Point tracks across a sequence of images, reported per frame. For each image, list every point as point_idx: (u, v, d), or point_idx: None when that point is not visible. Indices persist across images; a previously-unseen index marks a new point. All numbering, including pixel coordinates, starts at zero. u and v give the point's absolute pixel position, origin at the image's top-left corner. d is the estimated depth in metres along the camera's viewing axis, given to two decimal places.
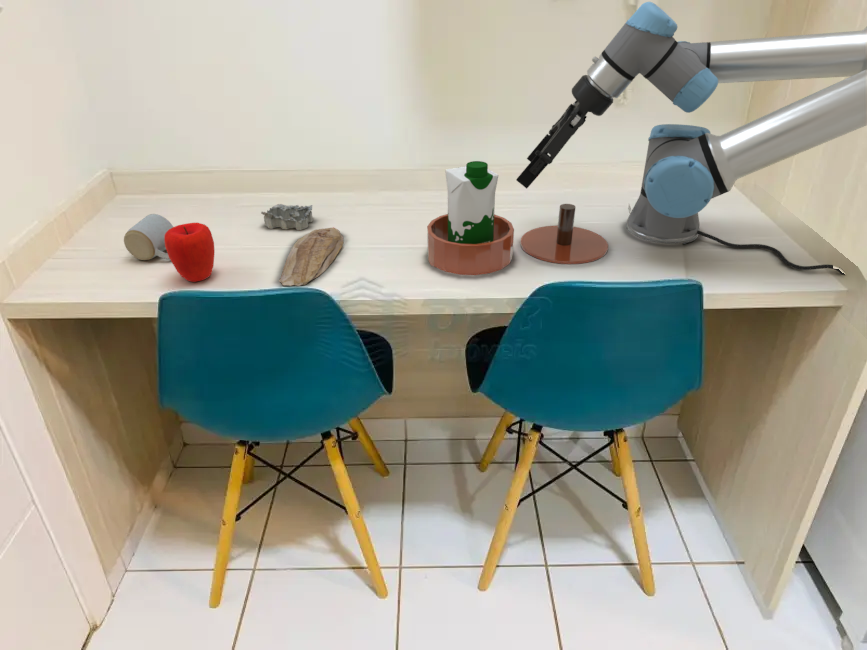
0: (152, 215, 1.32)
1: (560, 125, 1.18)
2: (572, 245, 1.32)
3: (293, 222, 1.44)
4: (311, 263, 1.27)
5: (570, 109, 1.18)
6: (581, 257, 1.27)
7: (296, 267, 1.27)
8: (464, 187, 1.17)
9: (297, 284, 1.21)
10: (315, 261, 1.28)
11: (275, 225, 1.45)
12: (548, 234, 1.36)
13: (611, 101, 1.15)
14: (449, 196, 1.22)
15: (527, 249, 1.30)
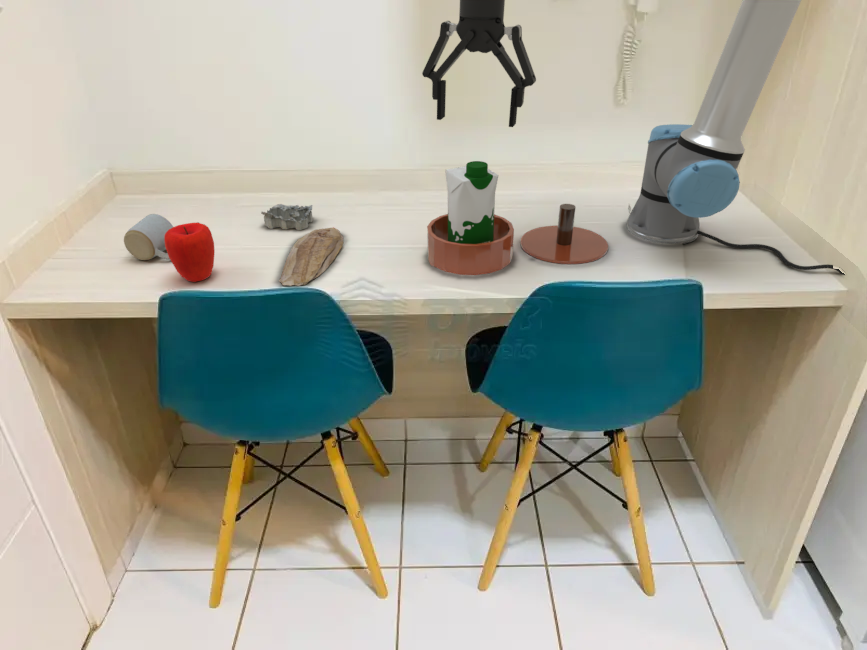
0: (152, 215, 1.32)
1: (500, 51, 1.07)
2: (572, 245, 1.32)
3: (293, 222, 1.44)
4: (311, 263, 1.27)
5: (488, 33, 1.06)
6: (581, 257, 1.27)
7: (296, 267, 1.27)
8: (464, 187, 1.17)
9: (297, 284, 1.21)
10: (315, 261, 1.28)
11: (275, 225, 1.45)
12: (548, 234, 1.36)
13: None
14: (449, 196, 1.22)
15: (527, 249, 1.30)
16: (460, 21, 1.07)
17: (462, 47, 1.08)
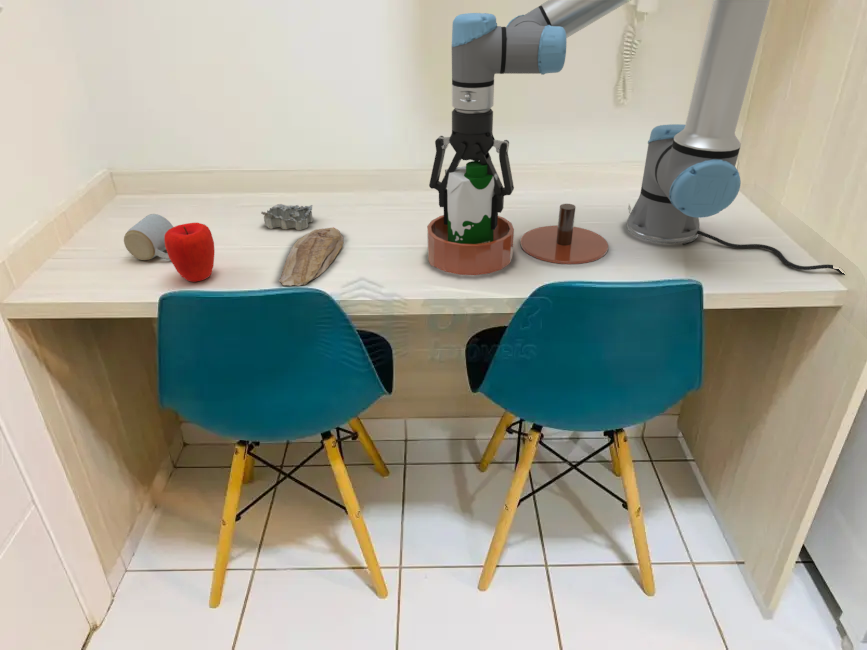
0: (152, 215, 1.32)
1: (487, 163, 1.17)
2: (572, 245, 1.32)
3: (293, 222, 1.44)
4: (311, 263, 1.27)
5: (479, 145, 1.16)
6: (581, 257, 1.27)
7: (296, 267, 1.27)
8: (464, 187, 1.17)
9: (297, 284, 1.21)
10: (315, 261, 1.28)
11: (275, 225, 1.45)
12: (548, 234, 1.36)
13: None
14: (448, 196, 1.22)
15: (527, 249, 1.30)
16: (453, 134, 1.16)
17: (458, 158, 1.18)
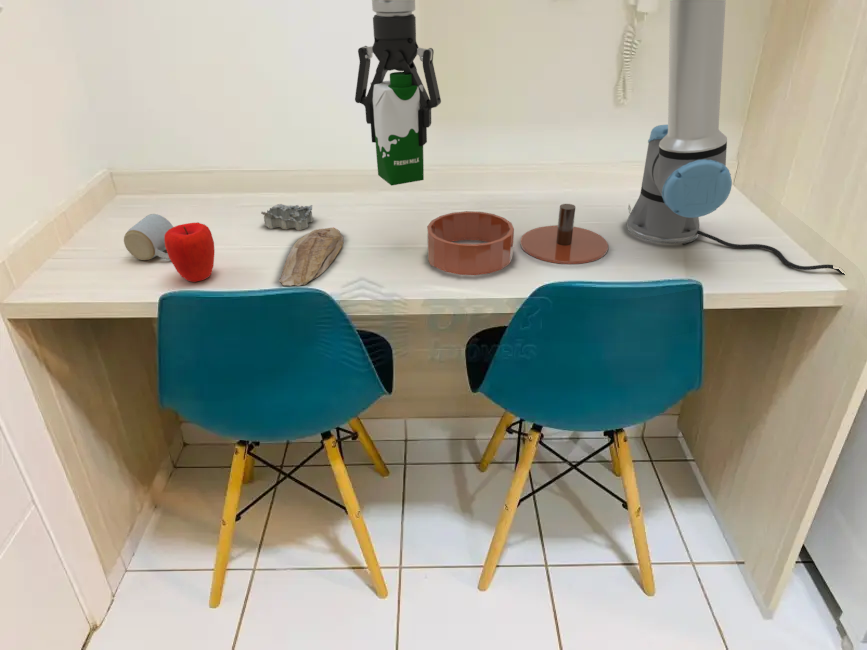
0: (152, 215, 1.32)
1: (411, 72, 1.13)
2: (572, 245, 1.32)
3: (293, 222, 1.44)
4: (311, 263, 1.27)
5: (402, 53, 1.12)
6: (581, 257, 1.27)
7: (296, 267, 1.27)
8: (387, 97, 1.13)
9: (297, 284, 1.21)
10: (315, 261, 1.28)
11: (275, 225, 1.45)
12: (548, 234, 1.36)
13: None
14: (374, 110, 1.18)
15: (527, 249, 1.30)
16: (375, 42, 1.13)
17: (382, 68, 1.14)
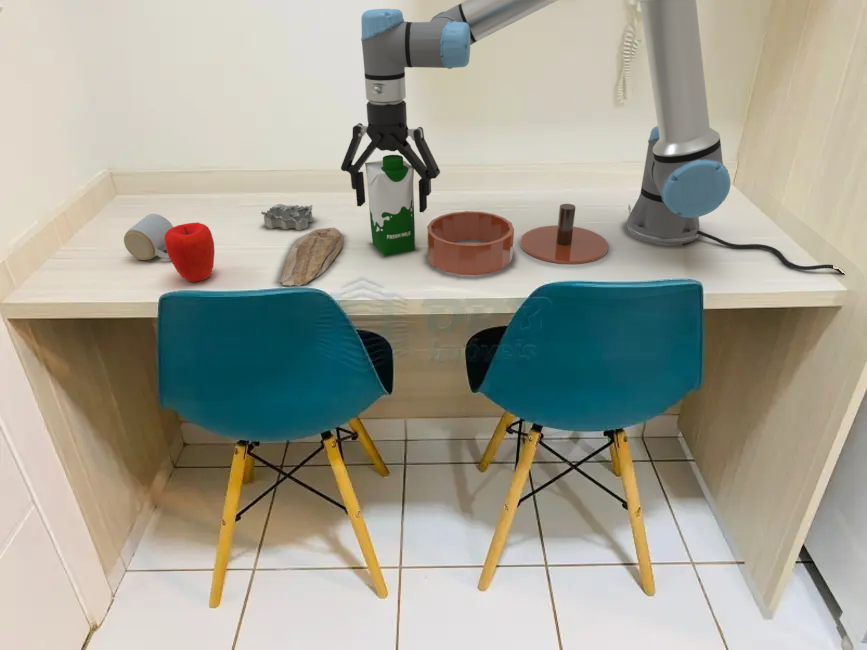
0: (152, 215, 1.32)
1: (405, 150, 1.21)
2: (572, 245, 1.32)
3: (293, 222, 1.44)
4: (311, 263, 1.27)
5: (393, 135, 1.20)
6: (581, 257, 1.27)
7: (296, 267, 1.27)
8: (380, 180, 1.22)
9: (297, 284, 1.21)
10: (315, 261, 1.28)
11: (275, 225, 1.45)
12: (548, 234, 1.36)
13: None
14: (368, 188, 1.27)
15: (527, 249, 1.30)
16: (369, 125, 1.21)
17: (372, 147, 1.23)
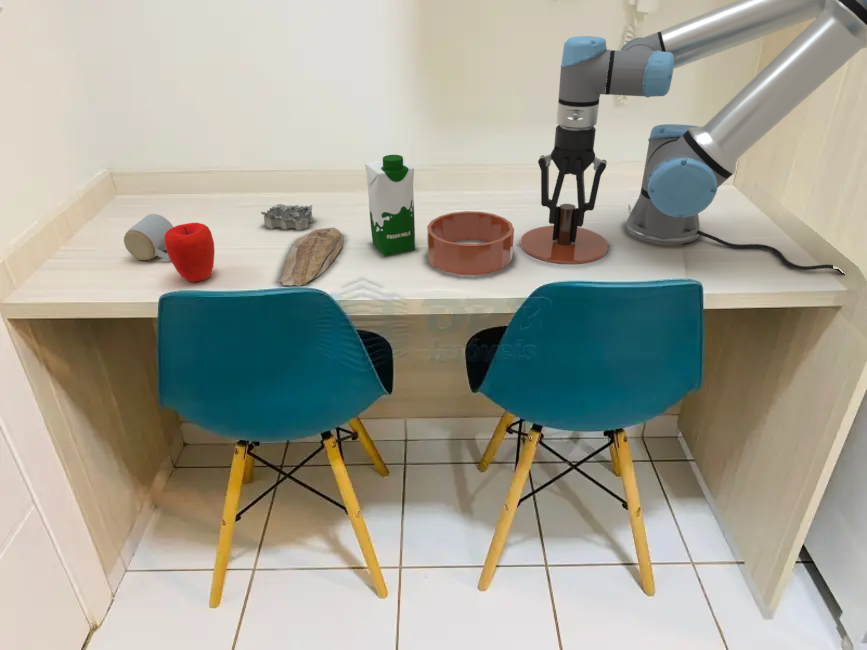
0: (152, 215, 1.32)
1: None
2: (572, 245, 1.32)
3: (293, 222, 1.44)
4: (311, 263, 1.27)
5: (581, 161, 1.22)
6: (581, 257, 1.27)
7: (296, 267, 1.27)
8: (380, 180, 1.22)
9: (297, 284, 1.21)
10: (315, 261, 1.28)
11: (275, 225, 1.45)
12: (548, 234, 1.36)
13: None
14: (368, 188, 1.27)
15: (527, 249, 1.30)
16: (555, 149, 1.23)
17: (563, 173, 1.24)
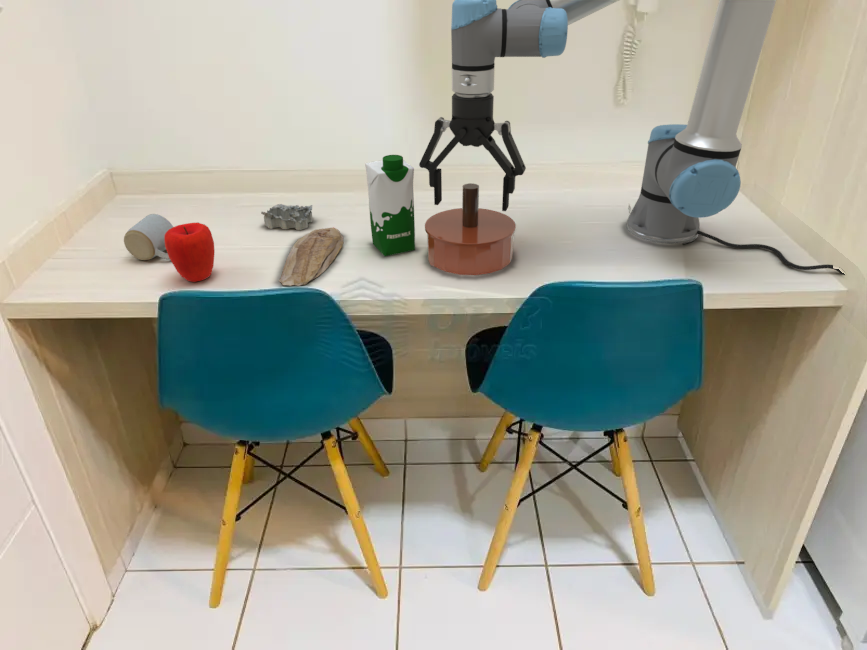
0: (152, 215, 1.32)
1: (491, 145, 1.15)
2: (478, 227, 1.25)
3: (293, 222, 1.44)
4: (311, 263, 1.27)
5: (479, 130, 1.14)
6: (483, 239, 1.20)
7: (296, 267, 1.27)
8: (380, 180, 1.22)
9: (297, 284, 1.21)
10: (315, 261, 1.28)
11: (275, 225, 1.45)
12: (456, 216, 1.30)
13: None
14: (368, 188, 1.27)
15: (429, 231, 1.23)
16: (453, 119, 1.15)
17: (456, 142, 1.16)
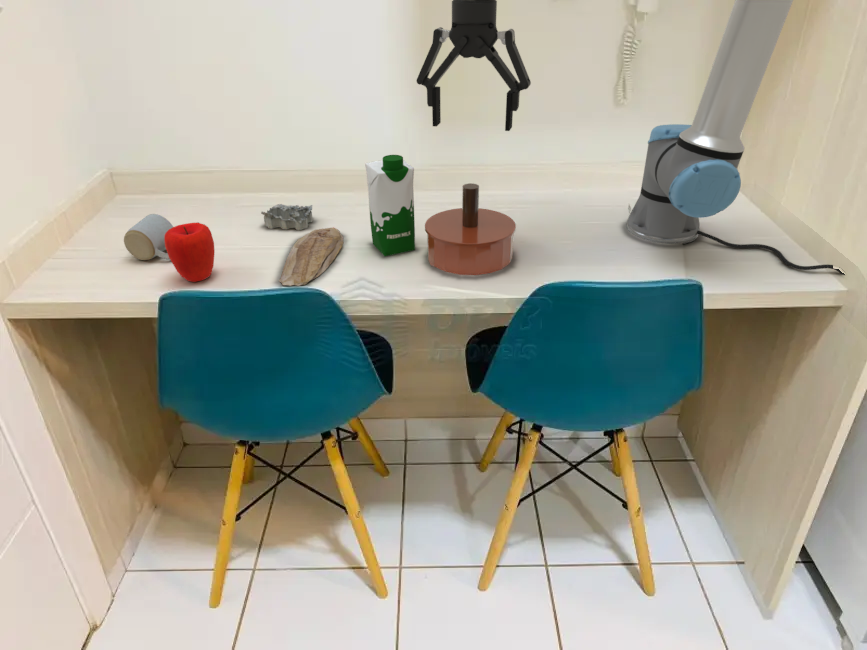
0: (152, 215, 1.32)
1: (494, 56, 1.07)
2: (478, 227, 1.25)
3: (293, 222, 1.44)
4: (311, 263, 1.27)
5: (481, 38, 1.06)
6: (483, 239, 1.20)
7: (296, 267, 1.27)
8: (380, 180, 1.22)
9: (297, 284, 1.21)
10: (315, 261, 1.28)
11: (275, 225, 1.45)
12: (456, 216, 1.30)
13: None
14: (368, 188, 1.27)
15: (429, 231, 1.23)
16: (453, 27, 1.07)
17: (456, 53, 1.08)
